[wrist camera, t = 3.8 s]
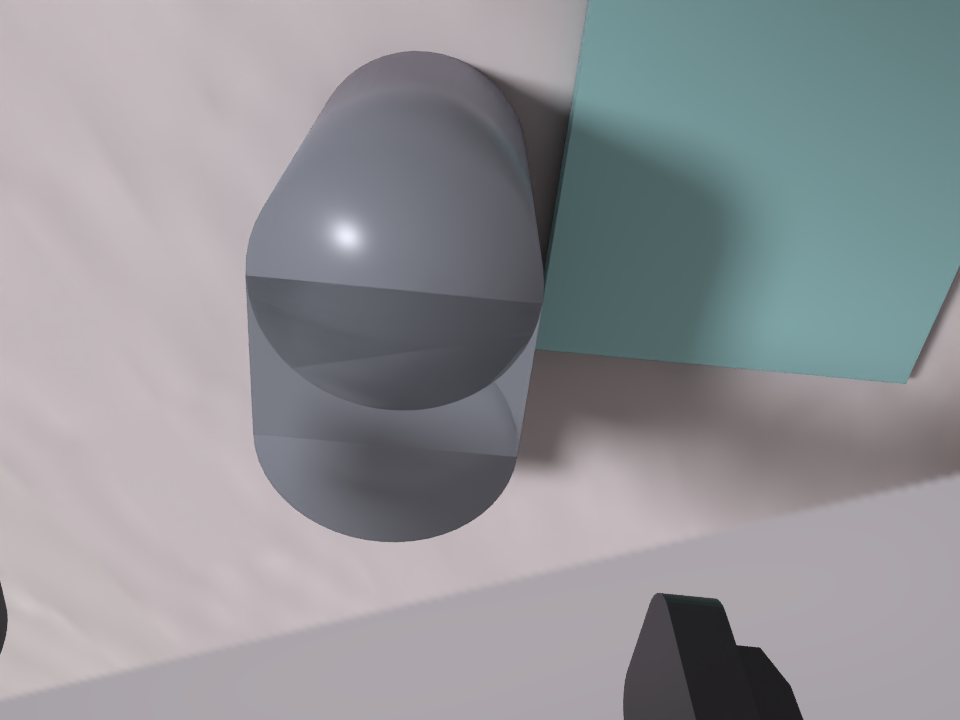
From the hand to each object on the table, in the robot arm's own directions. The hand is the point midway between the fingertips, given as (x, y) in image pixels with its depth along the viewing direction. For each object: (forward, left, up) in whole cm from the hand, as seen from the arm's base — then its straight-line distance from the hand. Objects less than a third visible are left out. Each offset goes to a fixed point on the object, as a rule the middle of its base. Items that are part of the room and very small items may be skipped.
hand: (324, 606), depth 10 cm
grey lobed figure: (-1, 0, -10) cm, 10 cm away
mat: (-3, +8, -10) cm, 13 cm away
